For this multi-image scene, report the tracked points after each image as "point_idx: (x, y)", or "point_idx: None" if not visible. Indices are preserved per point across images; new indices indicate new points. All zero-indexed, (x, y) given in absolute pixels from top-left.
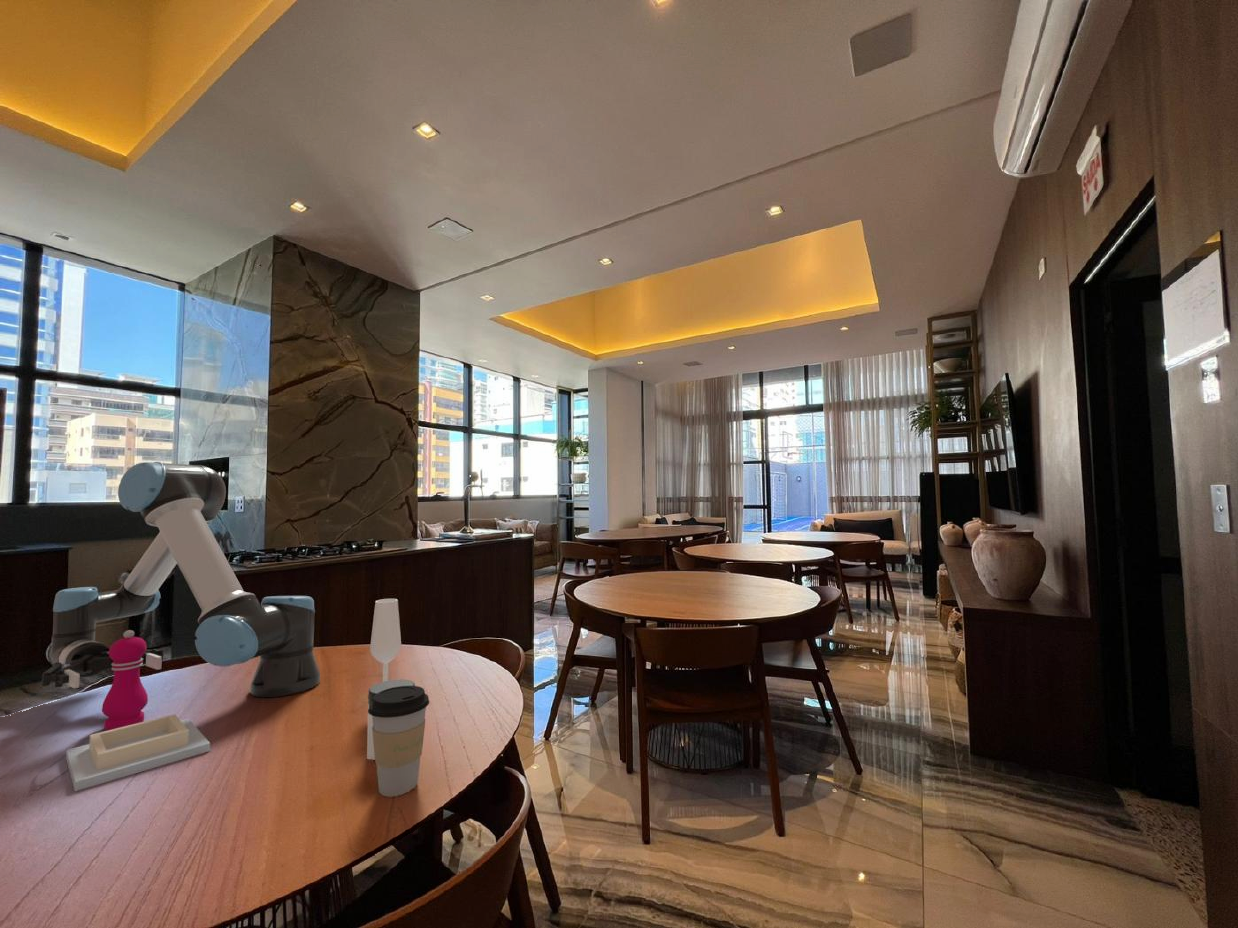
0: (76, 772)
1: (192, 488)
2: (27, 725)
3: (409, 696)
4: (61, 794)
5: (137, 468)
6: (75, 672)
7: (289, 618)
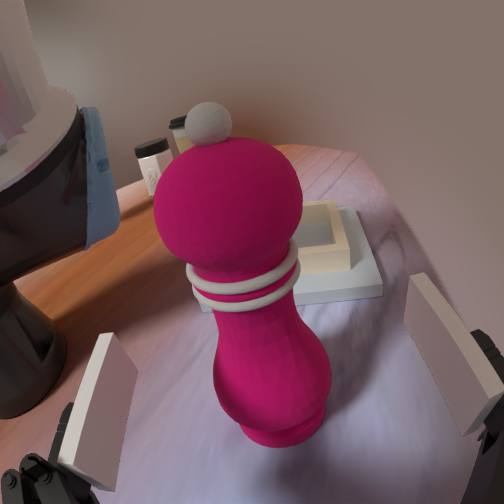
0: (355, 219)
1: None
2: None
3: (185, 116)
4: (364, 215)
5: None
6: (435, 310)
7: None
